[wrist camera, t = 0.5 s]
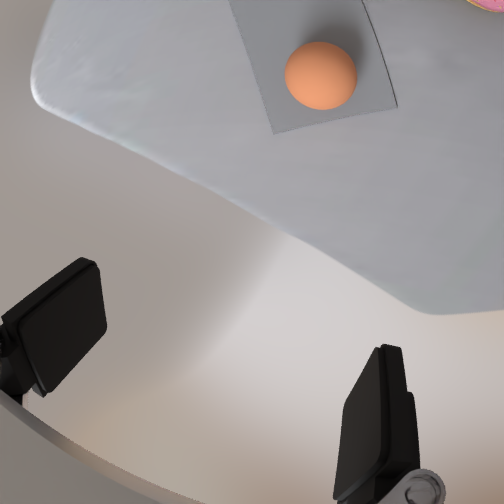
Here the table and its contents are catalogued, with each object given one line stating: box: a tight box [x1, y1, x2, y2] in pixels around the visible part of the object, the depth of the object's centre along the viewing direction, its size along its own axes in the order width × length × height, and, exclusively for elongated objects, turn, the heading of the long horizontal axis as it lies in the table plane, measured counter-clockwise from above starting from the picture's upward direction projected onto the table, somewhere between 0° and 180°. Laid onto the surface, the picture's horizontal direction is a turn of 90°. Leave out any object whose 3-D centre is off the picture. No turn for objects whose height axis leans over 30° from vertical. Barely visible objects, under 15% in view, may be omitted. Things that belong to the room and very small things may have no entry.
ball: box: [285, 42, 357, 110], centre depth 23 cm, size 6×6×6 cm
